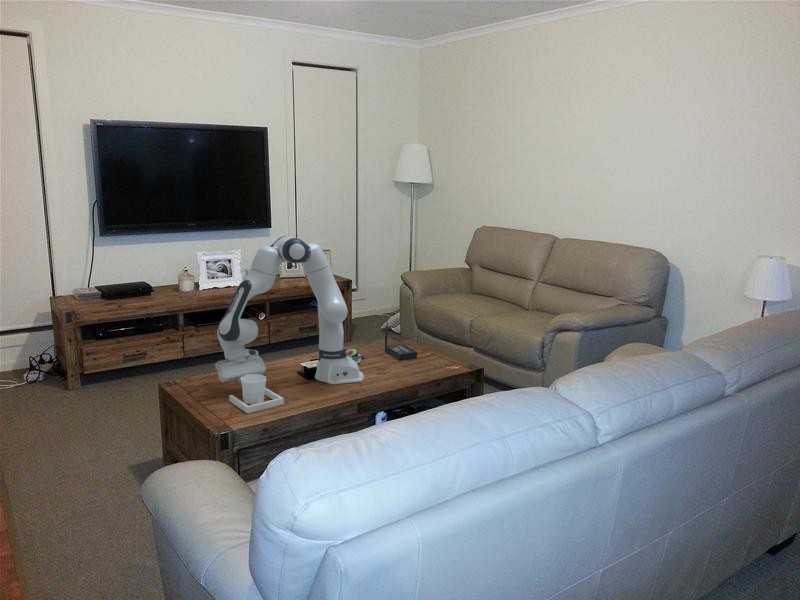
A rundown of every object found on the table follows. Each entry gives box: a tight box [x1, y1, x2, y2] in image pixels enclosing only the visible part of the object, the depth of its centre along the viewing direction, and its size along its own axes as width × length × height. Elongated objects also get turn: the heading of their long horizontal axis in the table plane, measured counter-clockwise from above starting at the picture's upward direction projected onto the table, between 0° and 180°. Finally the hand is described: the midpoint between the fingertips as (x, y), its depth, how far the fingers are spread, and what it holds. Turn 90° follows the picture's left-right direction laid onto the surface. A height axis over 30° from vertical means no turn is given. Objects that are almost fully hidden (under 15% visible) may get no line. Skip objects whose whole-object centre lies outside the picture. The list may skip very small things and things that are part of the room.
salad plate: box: [347, 348, 365, 365], centre depth 310 cm, size 19×18×5 cm
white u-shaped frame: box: [228, 386, 285, 414], centre depth 253 cm, size 15×16×2 cm
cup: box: [241, 374, 267, 406], centre depth 253 cm, size 10×10×10 cm
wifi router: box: [384, 318, 418, 362], centre depth 324 cm, size 20×14×17 cm
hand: (248, 386), depth 257 cm, fingers closed, pressing on cup
